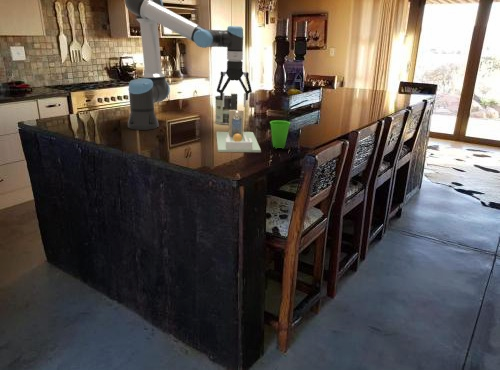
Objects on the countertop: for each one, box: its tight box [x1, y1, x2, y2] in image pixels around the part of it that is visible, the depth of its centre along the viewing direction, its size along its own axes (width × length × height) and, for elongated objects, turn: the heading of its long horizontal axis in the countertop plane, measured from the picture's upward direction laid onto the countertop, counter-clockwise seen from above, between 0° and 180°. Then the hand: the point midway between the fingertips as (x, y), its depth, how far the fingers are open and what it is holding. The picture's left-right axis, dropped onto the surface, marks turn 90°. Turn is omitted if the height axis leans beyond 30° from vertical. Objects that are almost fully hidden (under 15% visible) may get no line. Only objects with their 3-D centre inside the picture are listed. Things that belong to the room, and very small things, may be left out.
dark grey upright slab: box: [230, 93, 241, 137], centre depth 189 cm, size 4×25×16 cm, turn 6°
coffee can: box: [214, 95, 231, 125], centre depth 216 cm, size 10×10×14 cm
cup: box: [269, 120, 291, 149], centre depth 172 cm, size 9×9×11 cm
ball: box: [233, 133, 242, 142], centre depth 175 cm, size 4×4×4 cm
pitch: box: [215, 109, 262, 153], centre depth 177 cm, size 18×32×13 cm, turn 6°
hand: (234, 106), depth 198 cm, fingers open, 10 cm apart
